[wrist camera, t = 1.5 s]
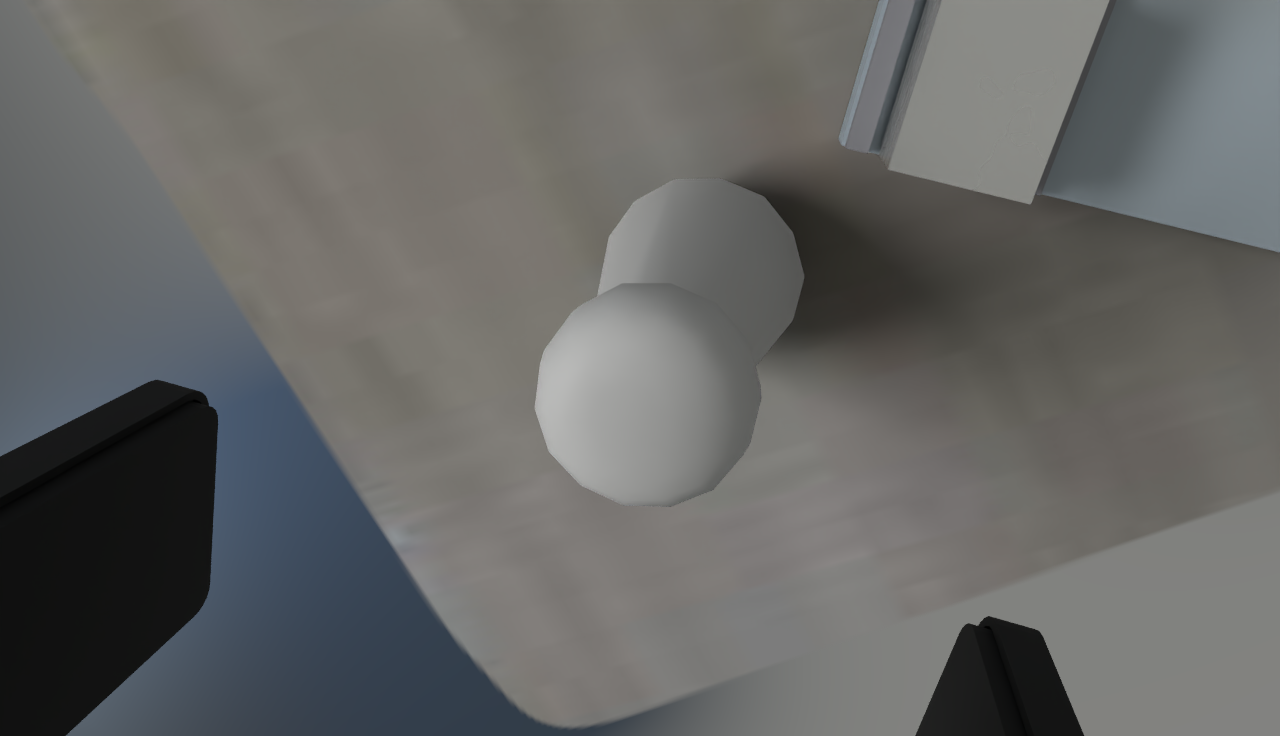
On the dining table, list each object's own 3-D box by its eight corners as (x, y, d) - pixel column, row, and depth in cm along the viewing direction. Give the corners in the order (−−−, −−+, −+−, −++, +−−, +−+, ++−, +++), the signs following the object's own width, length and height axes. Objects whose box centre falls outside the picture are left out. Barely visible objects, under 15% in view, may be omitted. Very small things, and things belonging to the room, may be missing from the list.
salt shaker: (752, 132, 26) (708, 203, 14) (834, 298, 28) (857, 492, 16) (586, 221, 28) (425, 351, 16) (670, 374, 30) (579, 600, 17)
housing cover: (940, -45, 22) (960, -59, 19) (1078, -15, 22) (1118, -23, 19) (878, 155, 24) (887, 169, 21) (1003, 185, 24) (1030, 204, 21)
